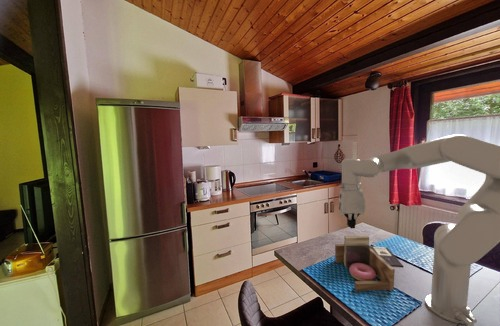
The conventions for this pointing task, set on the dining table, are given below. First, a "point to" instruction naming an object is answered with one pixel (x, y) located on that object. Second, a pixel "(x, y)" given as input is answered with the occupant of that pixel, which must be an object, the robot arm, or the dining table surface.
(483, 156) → the robot arm
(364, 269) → the doughnut
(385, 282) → the wooden frame
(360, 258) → the dark grey square tile
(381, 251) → the chocolate bar
